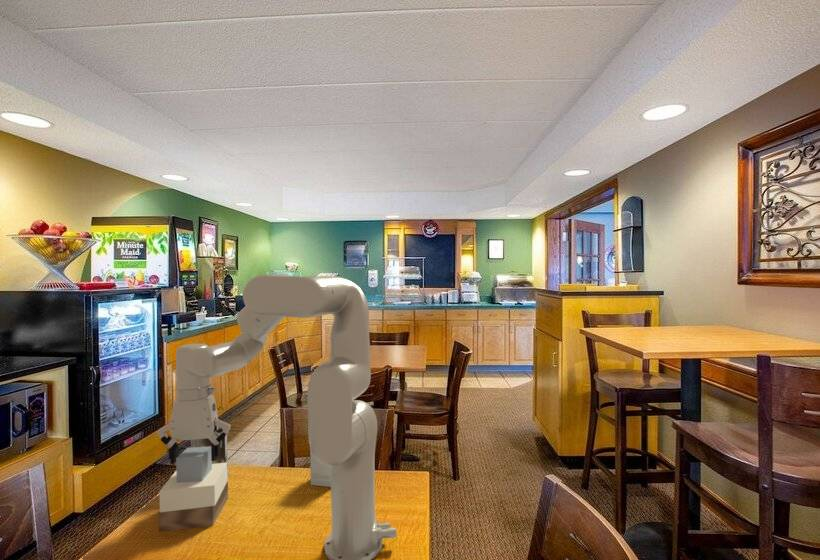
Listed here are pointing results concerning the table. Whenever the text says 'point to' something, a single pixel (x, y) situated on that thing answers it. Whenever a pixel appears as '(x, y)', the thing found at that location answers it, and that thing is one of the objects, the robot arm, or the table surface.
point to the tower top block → (194, 491)
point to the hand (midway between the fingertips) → (195, 460)
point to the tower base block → (193, 515)
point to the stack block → (193, 464)
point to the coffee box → (206, 443)
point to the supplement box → (319, 472)
